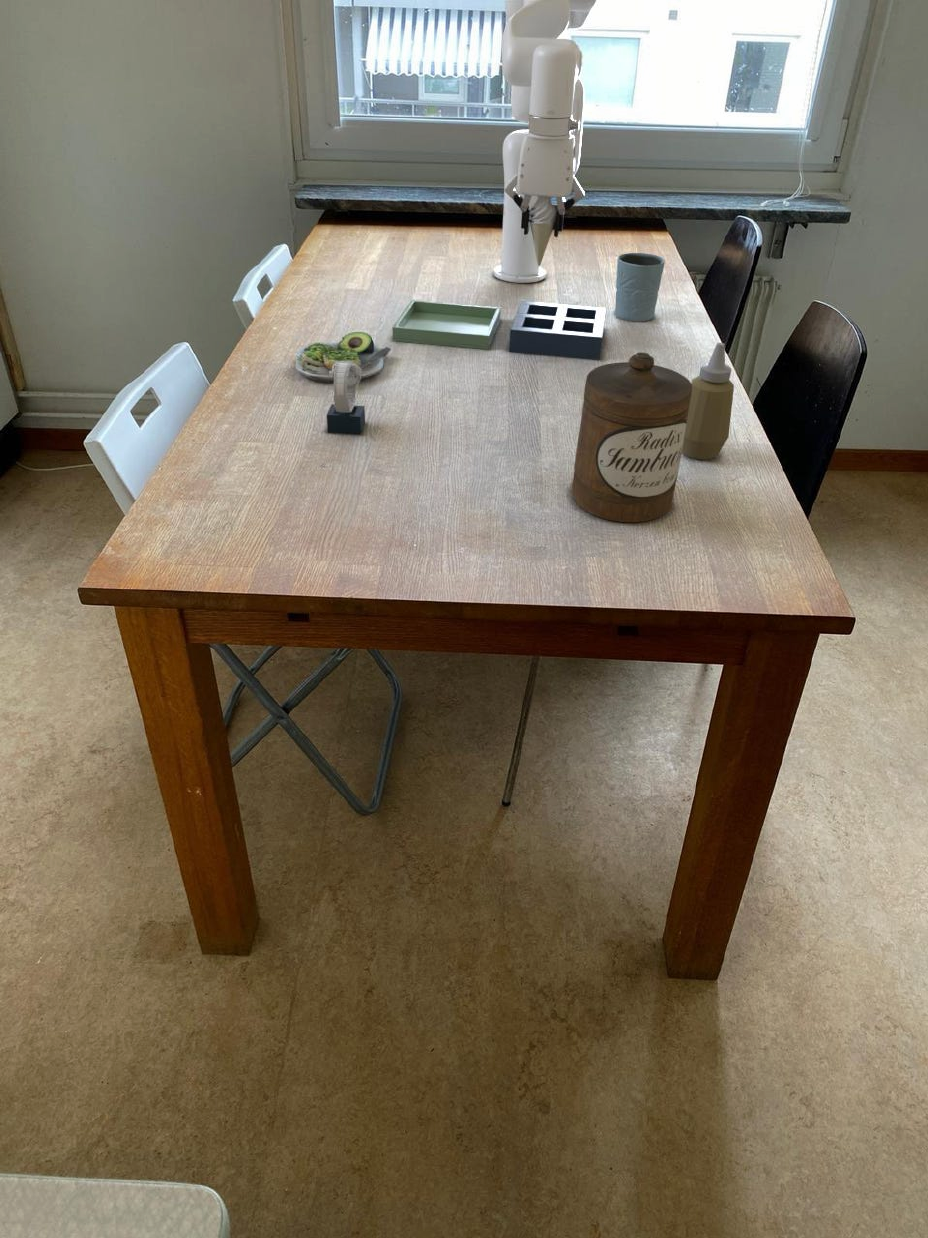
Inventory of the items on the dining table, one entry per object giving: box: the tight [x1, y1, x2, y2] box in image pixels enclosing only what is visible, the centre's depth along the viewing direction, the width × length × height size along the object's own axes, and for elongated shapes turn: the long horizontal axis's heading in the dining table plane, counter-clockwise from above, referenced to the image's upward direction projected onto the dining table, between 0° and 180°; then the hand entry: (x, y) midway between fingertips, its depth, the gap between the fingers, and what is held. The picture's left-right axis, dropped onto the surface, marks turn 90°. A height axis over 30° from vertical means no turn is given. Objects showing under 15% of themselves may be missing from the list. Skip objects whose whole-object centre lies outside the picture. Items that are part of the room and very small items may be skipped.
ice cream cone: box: [529, 196, 557, 267], centre depth 173 cm, size 5×5×15 cm
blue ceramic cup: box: [614, 252, 666, 323], centre depth 199 cm, size 10×10×12 cm
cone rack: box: [508, 300, 607, 361], centre depth 187 cm, size 18×18×4 cm
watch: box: [326, 361, 366, 435], centre depth 149 cm, size 6×8×11 cm
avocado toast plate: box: [294, 331, 392, 384], centre depth 171 cm, size 19×18×5 cm
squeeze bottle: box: [682, 342, 735, 461], centre depth 144 cm, size 8×8×18 cm
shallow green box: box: [392, 299, 502, 350], centre depth 191 cm, size 18×20×3 cm
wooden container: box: [571, 351, 692, 523], centre depth 130 cm, size 15×15×22 cm
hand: (541, 232), depth 174 cm, fingers closed on ice cream cone, 5 cm apart
